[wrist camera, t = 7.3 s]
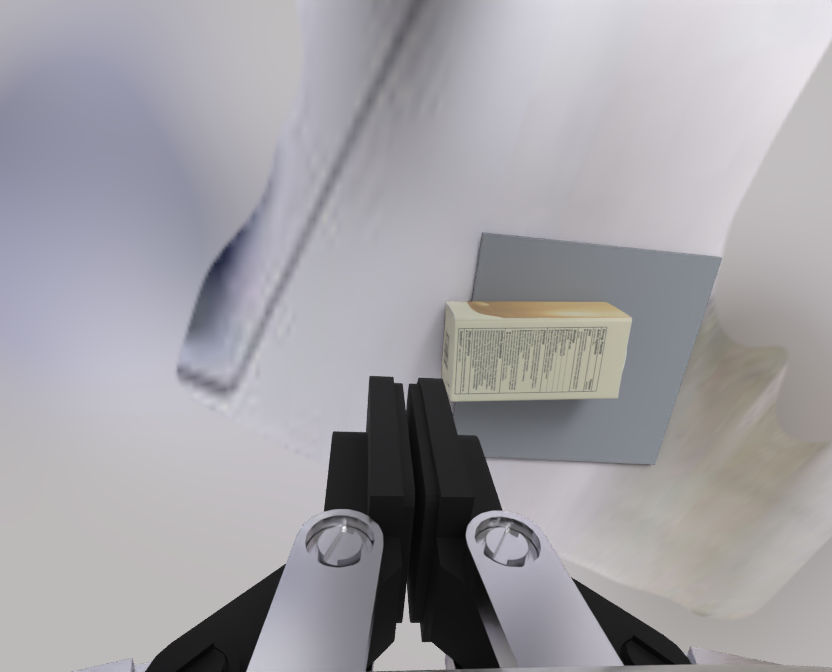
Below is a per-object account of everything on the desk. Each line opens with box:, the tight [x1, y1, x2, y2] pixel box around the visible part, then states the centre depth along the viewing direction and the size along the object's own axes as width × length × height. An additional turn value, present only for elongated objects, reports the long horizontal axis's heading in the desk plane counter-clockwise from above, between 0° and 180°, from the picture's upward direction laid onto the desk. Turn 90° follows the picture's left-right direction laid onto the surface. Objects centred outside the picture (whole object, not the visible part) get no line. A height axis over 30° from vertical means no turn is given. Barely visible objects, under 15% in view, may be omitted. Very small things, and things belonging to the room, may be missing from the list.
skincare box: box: [441, 301, 632, 402], centre depth 37 cm, size 6×4×12 cm
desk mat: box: [453, 233, 722, 465], centre depth 40 cm, size 18×18×1 cm
